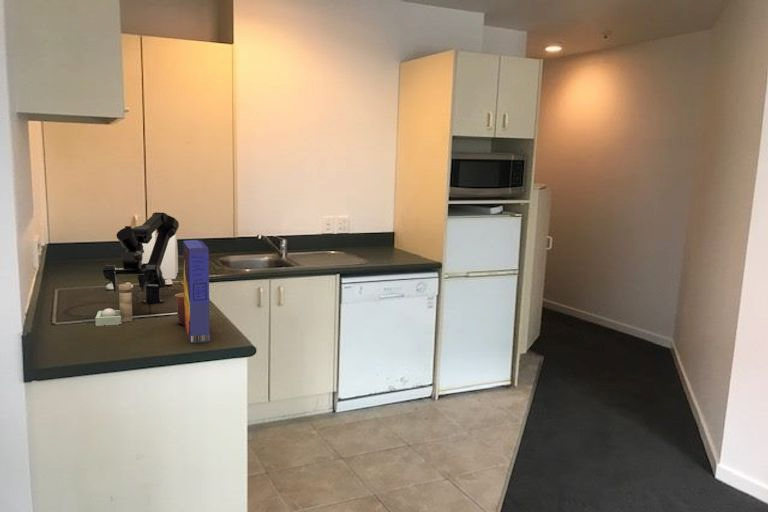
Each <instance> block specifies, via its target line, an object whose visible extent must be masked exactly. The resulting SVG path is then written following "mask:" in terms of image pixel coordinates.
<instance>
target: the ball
mask: <svg viewBox="0 0 768 512" xmlns="http://www.w3.org/2000/svg"><path fill="white" fill-rule="evenodd" d="M114 310H115V309H113V308H111V307H110V308H105V309H104V310H102V311H103V312H102V317H110V316H116V312H115V311H114Z"/></svg>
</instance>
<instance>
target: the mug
mask: <svg viewBox="0 0 768 512" xmlns="http://www.w3.org/2000/svg"><path fill="white" fill-rule="evenodd" d="M174 298H175V301H176V306H177V307H176V308H177V310H176V318H177V323H178V324H180V325H182V326H185V317H184V292H180V293H176V294H174Z"/></svg>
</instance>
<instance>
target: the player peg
mask: <svg viewBox="0 0 768 512" xmlns="http://www.w3.org/2000/svg"><path fill="white" fill-rule="evenodd" d="M132 289H133V288H132V284H131V283H120V284H118V293H119V295H118V296H119V301H118V302H119V310H120V316H121V321H122V322H121V323H127V322H126V321H130V322H133V301H132V299H133V295H132V292H133V291H132Z"/></svg>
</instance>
